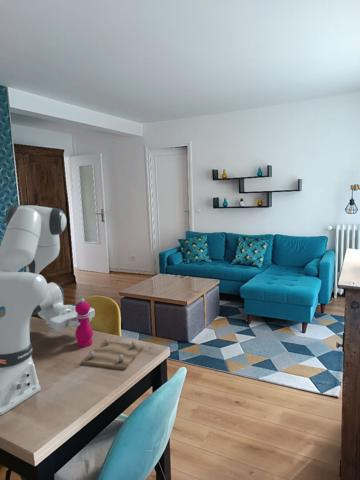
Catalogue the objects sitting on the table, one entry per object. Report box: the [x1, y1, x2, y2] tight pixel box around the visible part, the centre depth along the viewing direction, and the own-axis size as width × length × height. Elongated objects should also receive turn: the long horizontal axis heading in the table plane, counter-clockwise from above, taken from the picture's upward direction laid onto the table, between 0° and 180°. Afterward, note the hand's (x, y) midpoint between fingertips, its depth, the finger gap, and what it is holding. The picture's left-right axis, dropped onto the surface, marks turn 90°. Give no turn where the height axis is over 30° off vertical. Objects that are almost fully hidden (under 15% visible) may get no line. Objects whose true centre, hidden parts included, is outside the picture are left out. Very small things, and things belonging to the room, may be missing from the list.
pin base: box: [80, 337, 144, 371], centre depth 135 cm, size 18×18×4 cm
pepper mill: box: [74, 298, 94, 348], centre depth 145 cm, size 7×7×20 cm
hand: (84, 321), depth 145 cm, fingers open, 5 cm apart
